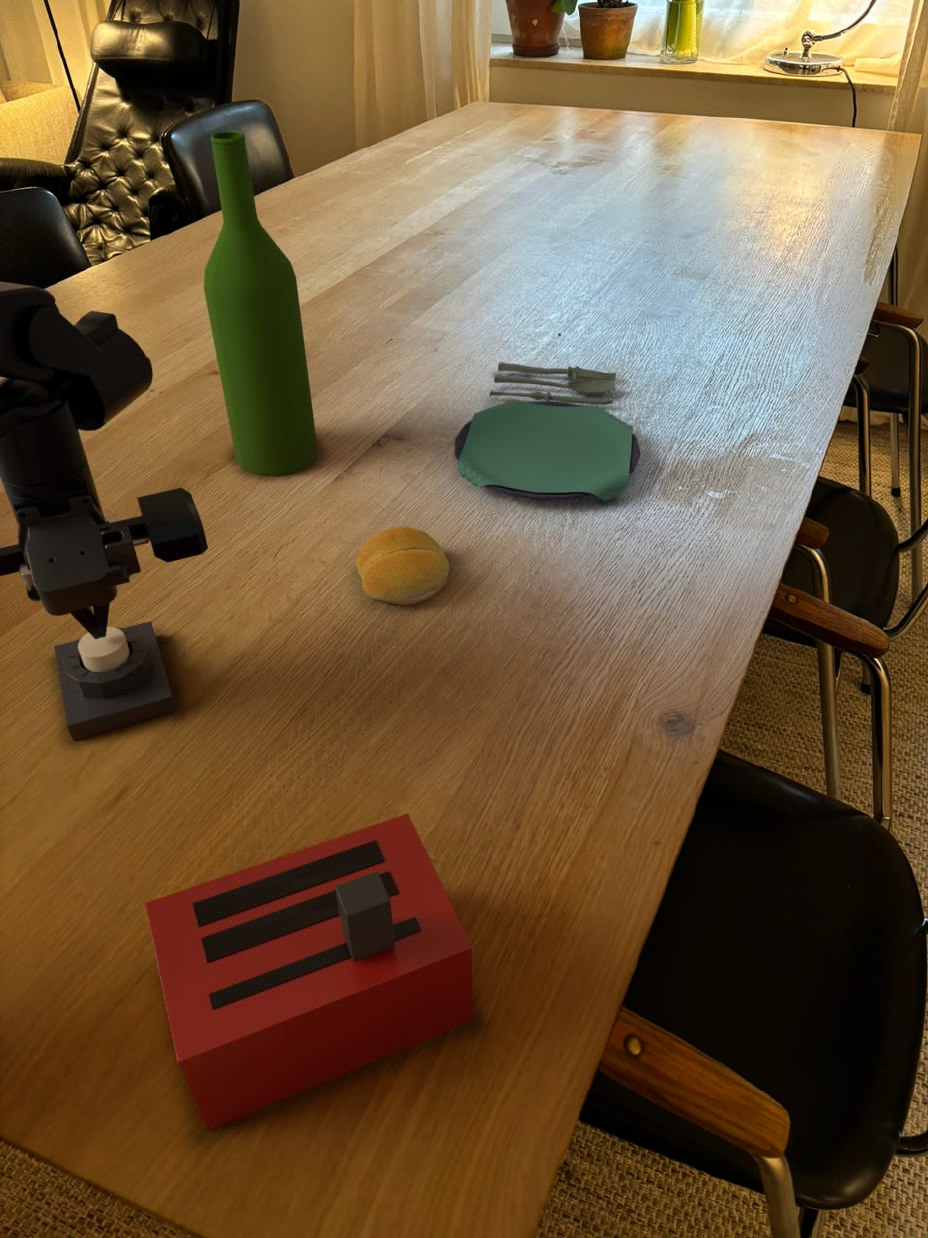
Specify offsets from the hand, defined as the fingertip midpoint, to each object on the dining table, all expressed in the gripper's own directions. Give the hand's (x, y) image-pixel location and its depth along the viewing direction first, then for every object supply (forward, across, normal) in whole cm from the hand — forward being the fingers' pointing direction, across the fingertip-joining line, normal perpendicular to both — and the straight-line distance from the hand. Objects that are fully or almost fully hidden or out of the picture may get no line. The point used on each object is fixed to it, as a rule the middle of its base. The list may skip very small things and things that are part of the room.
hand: (100, 635), depth 78 cm
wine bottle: (+6, +22, +30) cm, 37 cm away
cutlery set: (+6, +50, +21) cm, 55 cm away
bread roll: (+6, +26, +4) cm, 27 cm away
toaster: (+6, +7, -33) cm, 34 cm away
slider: (-3, +10, -35) cm, 37 cm away
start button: (+2, 0, 0) cm, 2 cm away
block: (+6, 0, 0) cm, 6 cm away
